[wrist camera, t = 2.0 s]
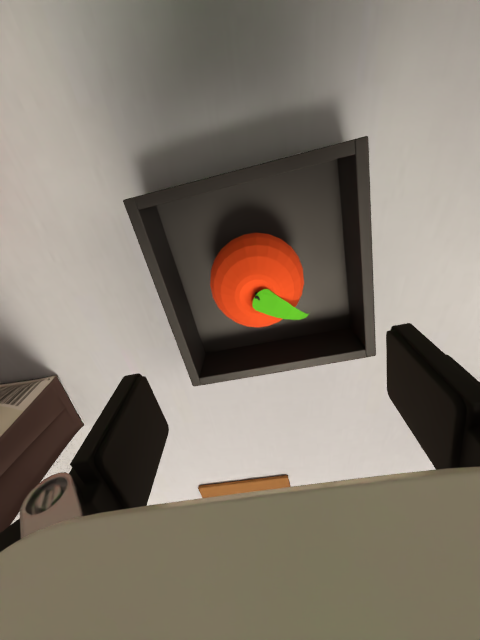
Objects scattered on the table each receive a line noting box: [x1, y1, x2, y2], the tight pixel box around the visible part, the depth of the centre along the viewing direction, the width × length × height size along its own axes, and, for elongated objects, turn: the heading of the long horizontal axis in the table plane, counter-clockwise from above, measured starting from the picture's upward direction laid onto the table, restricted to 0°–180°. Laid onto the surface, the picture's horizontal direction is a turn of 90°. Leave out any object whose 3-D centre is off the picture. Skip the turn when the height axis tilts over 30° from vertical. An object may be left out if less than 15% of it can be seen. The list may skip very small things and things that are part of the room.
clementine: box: [210, 233, 310, 327], centre depth 22 cm, size 8×7×7 cm
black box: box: [123, 136, 376, 386], centre depth 23 cm, size 16×16×5 cm
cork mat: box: [198, 475, 290, 498], centre depth 39 cm, size 12×6×1 cm, turn 103°
